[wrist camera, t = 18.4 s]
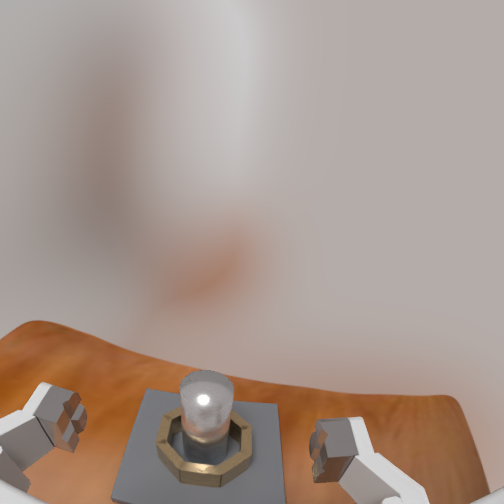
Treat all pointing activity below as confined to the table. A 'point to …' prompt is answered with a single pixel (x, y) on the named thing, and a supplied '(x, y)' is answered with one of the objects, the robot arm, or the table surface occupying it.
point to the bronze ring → (202, 472)
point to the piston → (205, 416)
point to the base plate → (163, 481)
